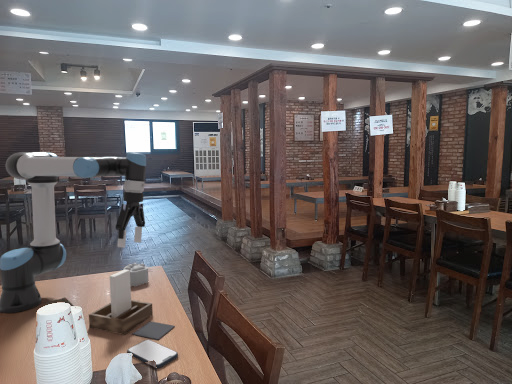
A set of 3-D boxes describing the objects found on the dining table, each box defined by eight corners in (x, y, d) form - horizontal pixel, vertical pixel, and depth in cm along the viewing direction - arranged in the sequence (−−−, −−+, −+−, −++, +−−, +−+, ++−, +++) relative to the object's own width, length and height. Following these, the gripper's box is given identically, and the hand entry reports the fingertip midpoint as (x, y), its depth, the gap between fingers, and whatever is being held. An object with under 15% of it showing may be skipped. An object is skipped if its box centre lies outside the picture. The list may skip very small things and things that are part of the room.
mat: (132, 334, 125) (132, 333, 125) (150, 322, 134) (149, 321, 134) (158, 340, 121) (158, 338, 121) (174, 326, 130) (174, 325, 130)
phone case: (125, 354, 113) (157, 371, 104) (124, 349, 113) (156, 366, 104) (148, 342, 120) (180, 357, 111) (148, 338, 120) (179, 352, 111)
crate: (89, 327, 130) (88, 314, 130) (120, 309, 145) (119, 297, 145) (124, 334, 125) (123, 321, 124) (152, 315, 140) (152, 303, 139)
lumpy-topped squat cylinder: (131, 287, 169) (130, 270, 169) (119, 280, 179) (119, 264, 178) (151, 282, 177) (150, 265, 176) (139, 276, 186) (138, 259, 185)
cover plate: (111, 322, 131) (109, 276, 130) (126, 313, 139) (124, 269, 137) (117, 323, 131) (114, 276, 129) (131, 314, 138) (129, 270, 136)
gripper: (127, 192, 128) (123, 250, 128) (155, 192, 153) (151, 241, 153) (108, 190, 129) (103, 248, 129) (139, 191, 154) (135, 239, 154)
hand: (129, 244), depth 141 cm, fingers open, 13 cm apart
